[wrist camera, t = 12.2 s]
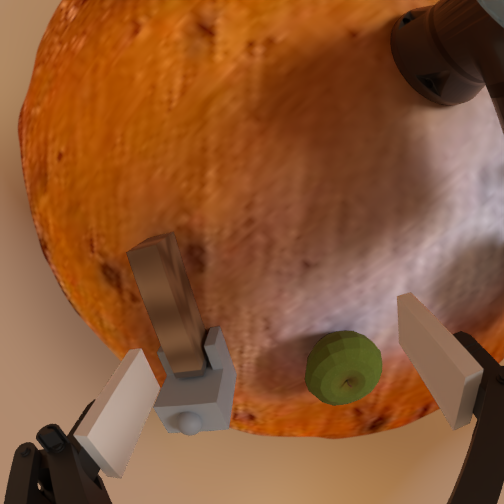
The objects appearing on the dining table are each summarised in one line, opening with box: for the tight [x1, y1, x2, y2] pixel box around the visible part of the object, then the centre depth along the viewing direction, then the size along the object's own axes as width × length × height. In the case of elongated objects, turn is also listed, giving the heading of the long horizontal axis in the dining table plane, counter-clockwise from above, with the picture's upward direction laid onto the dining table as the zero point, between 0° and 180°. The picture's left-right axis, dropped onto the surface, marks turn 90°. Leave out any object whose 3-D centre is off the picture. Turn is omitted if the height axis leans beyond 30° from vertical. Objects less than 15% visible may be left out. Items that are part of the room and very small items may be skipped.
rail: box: [126, 232, 208, 378], centre depth 40 cm, size 18×4×7 cm, turn 14°
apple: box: [305, 331, 382, 406], centre depth 40 cm, size 11×10×10 cm
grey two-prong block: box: [153, 326, 237, 435], centre depth 39 cm, size 9×8×14 cm
